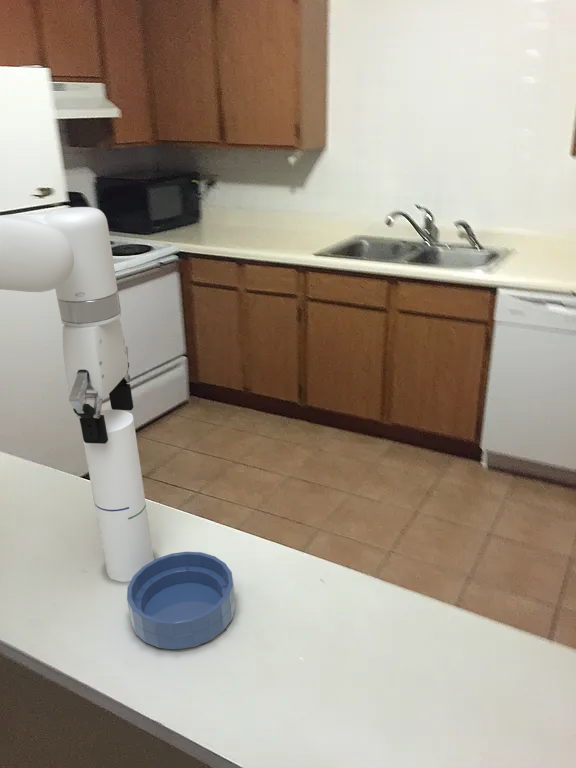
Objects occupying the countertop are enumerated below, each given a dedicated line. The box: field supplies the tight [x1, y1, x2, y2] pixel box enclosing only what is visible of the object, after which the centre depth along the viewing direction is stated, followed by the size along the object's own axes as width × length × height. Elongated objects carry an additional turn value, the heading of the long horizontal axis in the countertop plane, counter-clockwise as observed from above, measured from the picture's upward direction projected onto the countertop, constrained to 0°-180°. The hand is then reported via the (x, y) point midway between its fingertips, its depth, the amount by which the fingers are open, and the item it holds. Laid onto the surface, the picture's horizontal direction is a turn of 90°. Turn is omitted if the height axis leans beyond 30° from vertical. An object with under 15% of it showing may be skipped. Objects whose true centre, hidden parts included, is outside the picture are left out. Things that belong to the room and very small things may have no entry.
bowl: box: [126, 551, 236, 650], centre depth 92 cm, size 14×14×5 cm
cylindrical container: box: [80, 409, 155, 583], centre depth 97 cm, size 7×7×25 cm
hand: (110, 425), depth 93 cm, fingers open, 9 cm apart
